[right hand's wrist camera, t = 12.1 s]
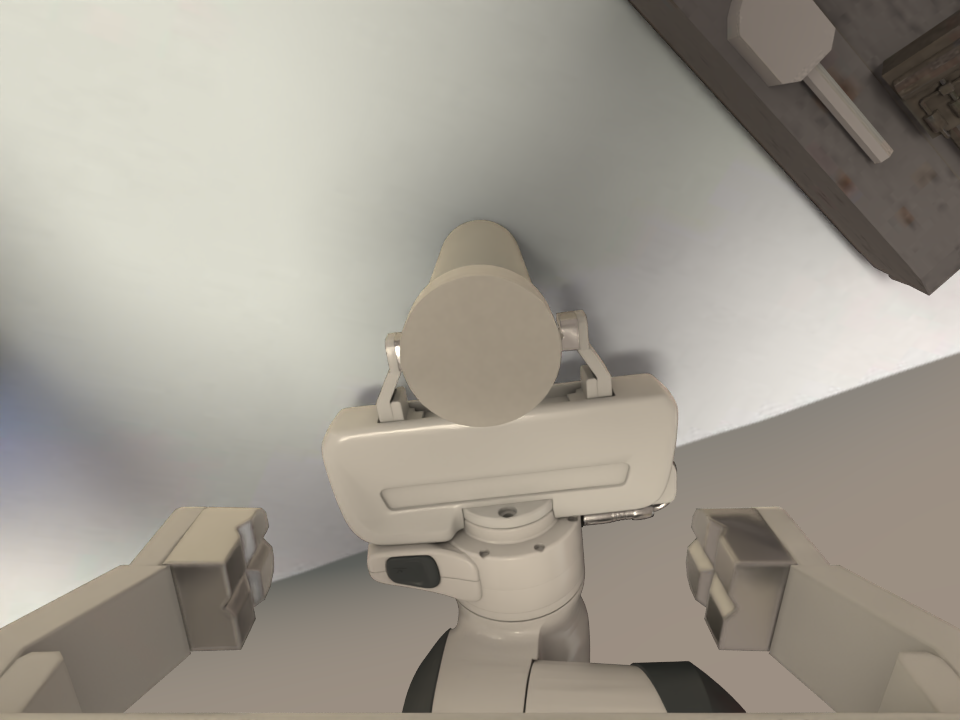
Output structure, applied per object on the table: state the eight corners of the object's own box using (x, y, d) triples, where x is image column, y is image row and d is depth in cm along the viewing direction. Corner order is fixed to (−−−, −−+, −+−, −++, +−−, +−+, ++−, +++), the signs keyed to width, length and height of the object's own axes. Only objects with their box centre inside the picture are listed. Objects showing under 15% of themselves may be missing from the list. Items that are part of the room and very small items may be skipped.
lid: (440, 238, 20) (437, 247, 18) (582, 302, 21) (590, 316, 19) (383, 373, 22) (375, 392, 20) (515, 427, 23) (518, 449, 21)
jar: (459, 205, 34) (443, 257, 19) (534, 240, 35) (576, 317, 20) (426, 281, 36) (388, 383, 21) (499, 312, 36) (514, 433, 21)
